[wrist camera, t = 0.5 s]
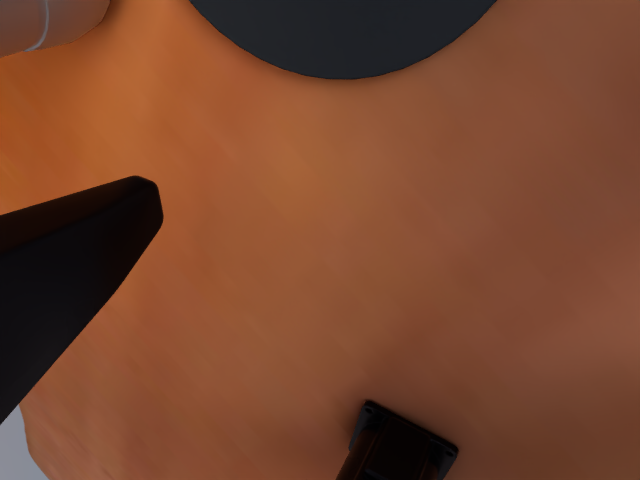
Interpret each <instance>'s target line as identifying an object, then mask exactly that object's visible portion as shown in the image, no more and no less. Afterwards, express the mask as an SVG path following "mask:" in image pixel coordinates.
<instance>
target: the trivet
mask: <svg viewBox="0 0 640 480" xmlns="http://www.w3.org/2000/svg"><path fill="white" fill-rule="evenodd" d="M189 1H190V2H191V3H192V4H193V6H194V7H195V8H196V9H197V10H198V11H199V12H200V14H201V15H202V16H204V17H205V18H206V19H207V20H208V21H209V22H210V23H211V24H212V25H213V26H214V27H215V28H216V29H217V30H218V31H219V32H221V33H222V34H223V35H225V36H226V37H227V38H229V39H230V40H231V41H233V42H234V43H235V44H236V45H238V46H239V47H241V48H242V49H244V50H246V51H247V52H249V53H251V54H252V55H254V56H256V57H258V58H259V59H261V60H263V61H266V62H268V63H270V64H272V65H275V66H277V67H279V68H281V69H284V70H288V71H291V72H295V73H298V74H301V75H305V76H311V77H318V78H325V79H359V78H367V77H374V76H379V75H383V74H386V73H390V72H393V71H397V70H400V69H403V68H406V67H408V66H410V65H412V64H414V63H417V62H419V61H421V60H423V59H425V58H428V57H429V56H431V55H433V54H434V53H436V52H437V51H439V50H440V49H442V48H444V47H445V46H447V45H448V44H450V43H452V42H453V41H454V40H455V39H457V38H458V37H459V36H460V35H461V34H463V33H464V32H465V31H466V30H467V29H469V28H470V27H471V26H472V25H473V24H475V23H476V22H477V21H478V20H479V19H480V18H481V17H482V16H483V15H484V14H485V13H486V11H487V10H488V9H489V8H490V7H491V6H492V5H493V4H494V3H495V2H496V1H497V0H189Z"/></svg>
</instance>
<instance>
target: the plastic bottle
mask: <svg viewBox="0 0 640 480" xmlns="http://www.w3.org/2000/svg"><path fill="white" fill-rule="evenodd" d="M109 3H110V0H0V58H1V57H4V56H8V55H11V54H15V53H18V52H22V51H25V52H26V51H34V50H41V49H46V48H50V47H54V46H59V45H63V44H67V43H71V42H73V41H75V40H77V39H78V38H80V37H81V36H83V35H84V34H86V33H87V32H88V31H90V30H91V29H93V28H94V27H96V26H97V25H98V24H99V23H100V22H101V20H102V19H103V18H104V15H105V13H106V11H107V8H108V6H109Z"/></svg>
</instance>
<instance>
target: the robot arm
mask: <svg viewBox="0 0 640 480" xmlns="http://www.w3.org/2000/svg"><path fill="white" fill-rule="evenodd" d="M163 217H164V216H163V210H162V205H161V200H160V195H159V190H158V187H157V185H156V184H155V183H154V182H153V181H150V180H148V179H145V178H143V177H140V176H130V177H127V178H123V179H120V180H117V181H113V182H110V183H107V184H103V185H100V186H97V187H93V188H90V189H87V190H83V191H80V192H77V193H73V194H70V195H67V196H63V197H60V198H57V199H53V200H50V201H47V202H43V203H40V204H37V205H33V206H30V207H27V208H23V209H20V210H17V211H13V212H10V213H7V214H3V215H0V425H1V424H2V422H3V421H4V420H5V419H6V418H7V417H8V415H9V414H10V413H11V412H12V411H13V410H14V409H15V407H16V406H17V405H18V404H19V403H20V402H21V400H22V399H23V398H24V397H25V396H26V395H27V394H28V392H29V391H30V390H31V389H32V388H33V387H34V385H35V384H36V383H37V382H38V381H39V380H40V379H41V377H42V376H43V375H44V374H45V373H46V372H47V370H48V369H49V368H50V367H51V366H52V365H53V364H54V362H55V361H56V360H57V359H58V358H59V357H60V355H61V354H62V353H63V352H64V351H65V350H66V349H67V347H68V346H69V345H70V344H71V343H72V342H73V340H74V339H75V338H76V337H77V336H78V335H79V334H80V332H81V331H82V330H83V329H84V328H85V327H86V325H87V324H88V323H89V322H90V321H91V320H92V319H93V317H94V316H95V315H96V314H97V313H98V312H99V310H100V309H101V308H102V307H103V306H104V305H105V304H106V302H107V301H108V300H109V299H110V298H111V296H112V295H113V294H114V293H115V292H116V290H117V289H118V288H119V286H120V285H121V284H122V282H123V281H124V280H125V278H126V277H127V275H128V274H129V272H130V271H131V269H132V268H133V267H134V265H135V264H136V262H137V261H138V259H139V258H140V257H141V255H142V254H143V252H144V251H145V249H146V248H147V247H148V245H149V244H150V242H151V241H152V239H153V238H154V237H155V235H156V234H157V232H158V231H159V229H160V228H161V225H162V223H163ZM349 451H350V452H349V454H348V456H347V458H346V460H345V462H344V464H343V466H342V468H341V470H340V472H339V474H338V476H337V478H336V480H443V479H444V477H445V475H446V474H447V472H448V471H449V469H450V468H451V466H452V464H453V463H454V461H455V460H456V458H457V456H458V453H459V449H458V448H457V447H456V446H455V445H453V444H452V443H450V442H448V441H446V440H444V439H442V438H440V437H438V436H436V435H434V434H432V433H431V432H429V431H427V430H425V429H423V428H421V427H419V426H417V425H415V424H413V423H412V422H410V421H408V420H406V419H404V418H402V417H400V416H398V415H396V414H394V413H392V412H391V411H389V410H387V409H385V408H383V407H381V406H379V405H377V404H375V403H373V402H371V401H366V402H365V403H364V405H363V407H362V409H361V412H360V415H359V418H358V421H357V424H356V427H355V430H354V433H353V436H352V439H351V442H350V445H349Z"/></svg>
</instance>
